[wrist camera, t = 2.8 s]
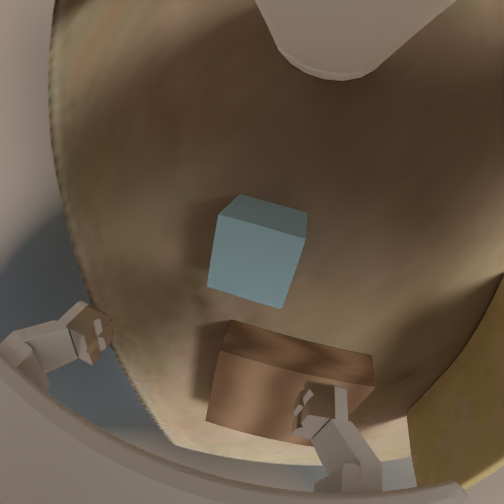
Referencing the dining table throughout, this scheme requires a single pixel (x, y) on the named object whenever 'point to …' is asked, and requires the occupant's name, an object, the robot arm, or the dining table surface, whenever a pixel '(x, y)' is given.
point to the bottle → (345, 32)
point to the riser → (278, 380)
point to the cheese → (464, 410)
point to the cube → (257, 250)
